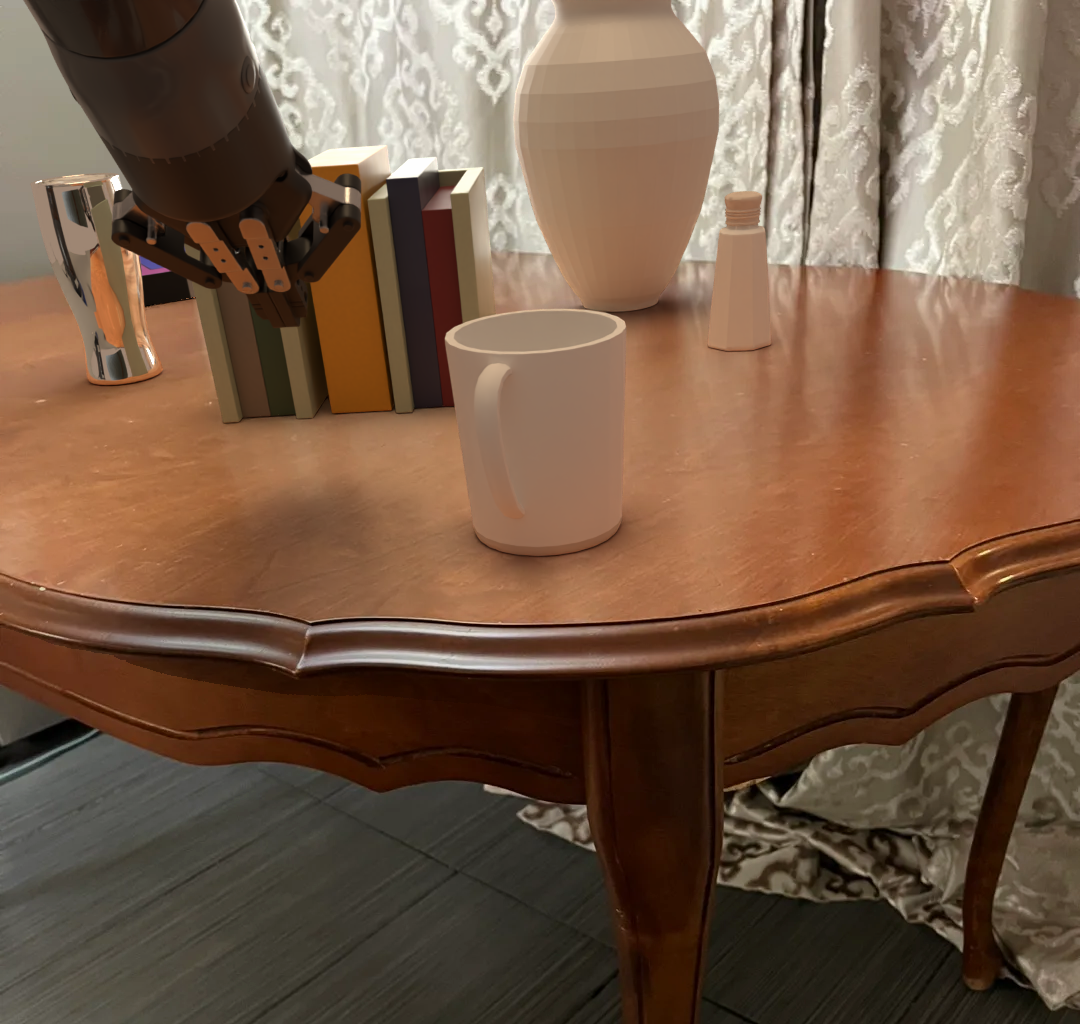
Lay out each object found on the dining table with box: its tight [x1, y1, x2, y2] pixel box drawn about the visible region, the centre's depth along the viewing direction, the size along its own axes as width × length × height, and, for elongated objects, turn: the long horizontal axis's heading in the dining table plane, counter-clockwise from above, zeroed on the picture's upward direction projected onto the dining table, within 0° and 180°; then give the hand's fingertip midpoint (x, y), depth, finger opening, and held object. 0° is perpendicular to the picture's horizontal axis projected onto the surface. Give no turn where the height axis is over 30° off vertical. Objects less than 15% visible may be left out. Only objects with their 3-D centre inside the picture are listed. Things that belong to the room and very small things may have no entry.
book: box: [140, 247, 195, 307], centre depth 132 cm, size 21×3×30 cm
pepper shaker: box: [707, 190, 772, 352], centre depth 87 cm, size 5×5×11 cm
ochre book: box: [299, 144, 395, 414], centre depth 81 cm, size 4×12×16 cm, turn 178°
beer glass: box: [29, 172, 164, 386], centre depth 90 cm, size 7×7×15 cm
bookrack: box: [184, 156, 497, 424], centre depth 82 cm, size 19×14×15 cm
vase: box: [512, 0, 720, 313], centre depth 98 cm, size 18×18×25 cm
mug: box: [445, 308, 627, 557], centre depth 57 cm, size 11×9×10 cm
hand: (287, 313), depth 63 cm, fingers closed
